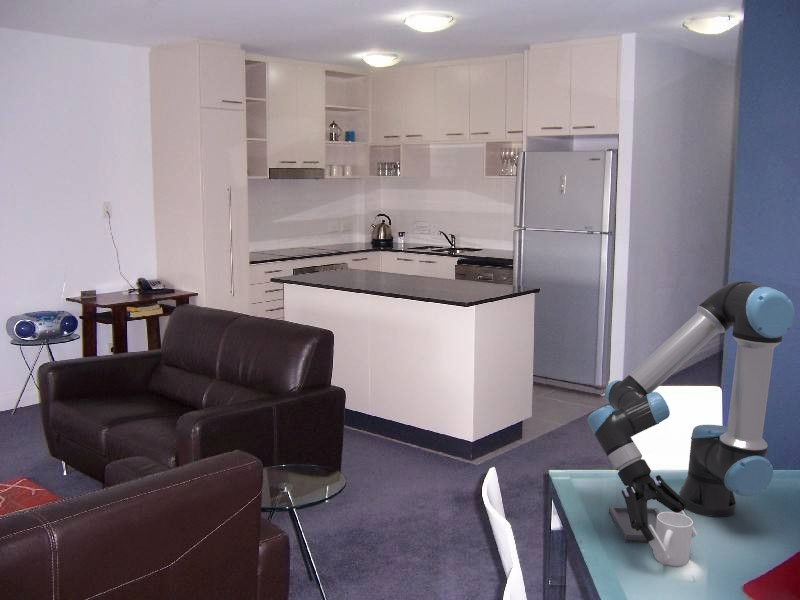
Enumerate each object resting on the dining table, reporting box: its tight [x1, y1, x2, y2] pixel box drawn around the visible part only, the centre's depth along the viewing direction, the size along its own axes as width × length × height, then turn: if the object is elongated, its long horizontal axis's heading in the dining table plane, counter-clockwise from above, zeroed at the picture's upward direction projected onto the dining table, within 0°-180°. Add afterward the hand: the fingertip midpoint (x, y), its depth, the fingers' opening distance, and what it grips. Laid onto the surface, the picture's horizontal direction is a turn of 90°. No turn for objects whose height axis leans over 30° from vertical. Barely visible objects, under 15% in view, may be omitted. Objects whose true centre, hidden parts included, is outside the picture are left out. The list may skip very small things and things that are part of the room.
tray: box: [608, 505, 661, 544], centre depth 213 cm, size 13×17×2 cm
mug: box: [653, 511, 694, 567], centre depth 195 cm, size 12×8×10 cm
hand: (677, 545), depth 193 cm, fingers open, 13 cm apart
